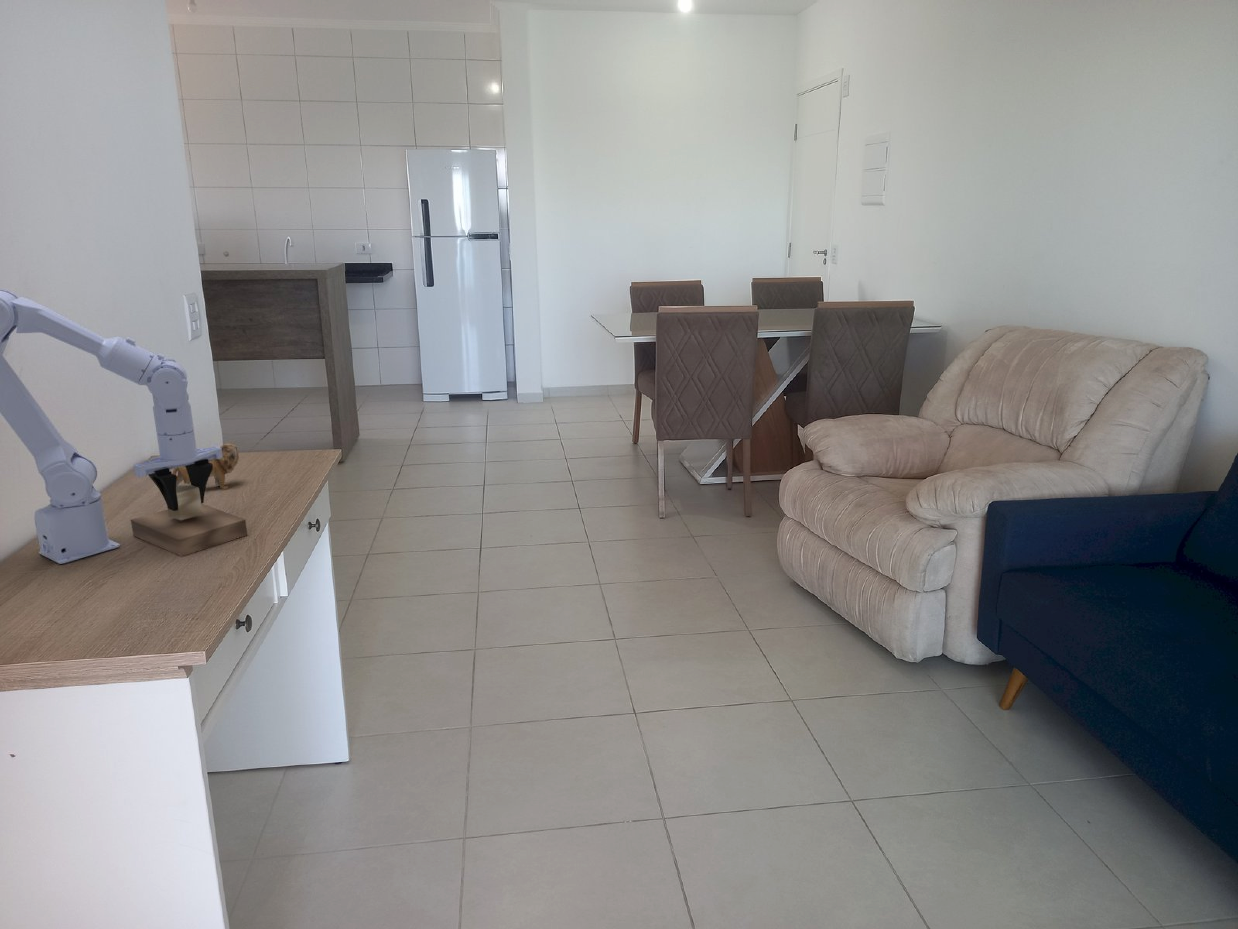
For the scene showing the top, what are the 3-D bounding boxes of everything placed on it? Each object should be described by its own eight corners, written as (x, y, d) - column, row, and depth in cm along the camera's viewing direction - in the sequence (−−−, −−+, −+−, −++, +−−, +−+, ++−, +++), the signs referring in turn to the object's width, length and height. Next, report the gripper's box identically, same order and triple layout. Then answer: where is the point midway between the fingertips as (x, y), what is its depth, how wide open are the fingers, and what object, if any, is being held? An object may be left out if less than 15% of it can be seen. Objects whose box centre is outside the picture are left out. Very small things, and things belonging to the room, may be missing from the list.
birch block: (180, 520, 145) (176, 493, 144) (168, 515, 148) (164, 489, 146) (202, 514, 149) (198, 487, 147) (190, 509, 151) (186, 483, 149)
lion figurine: (238, 479, 180) (233, 439, 177) (246, 485, 176) (241, 445, 173) (163, 493, 171) (156, 451, 168) (170, 500, 167) (163, 457, 164)
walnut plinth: (181, 556, 140) (179, 539, 139) (133, 535, 148) (130, 519, 148) (247, 535, 149) (245, 519, 148) (198, 516, 158) (196, 501, 157)
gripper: (203, 420, 151) (212, 491, 155) (119, 436, 140) (132, 512, 144) (225, 425, 147) (234, 498, 151) (141, 443, 136) (153, 521, 140)
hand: (186, 505), depth 147 cm, fingers closed on birch block, 4 cm apart
